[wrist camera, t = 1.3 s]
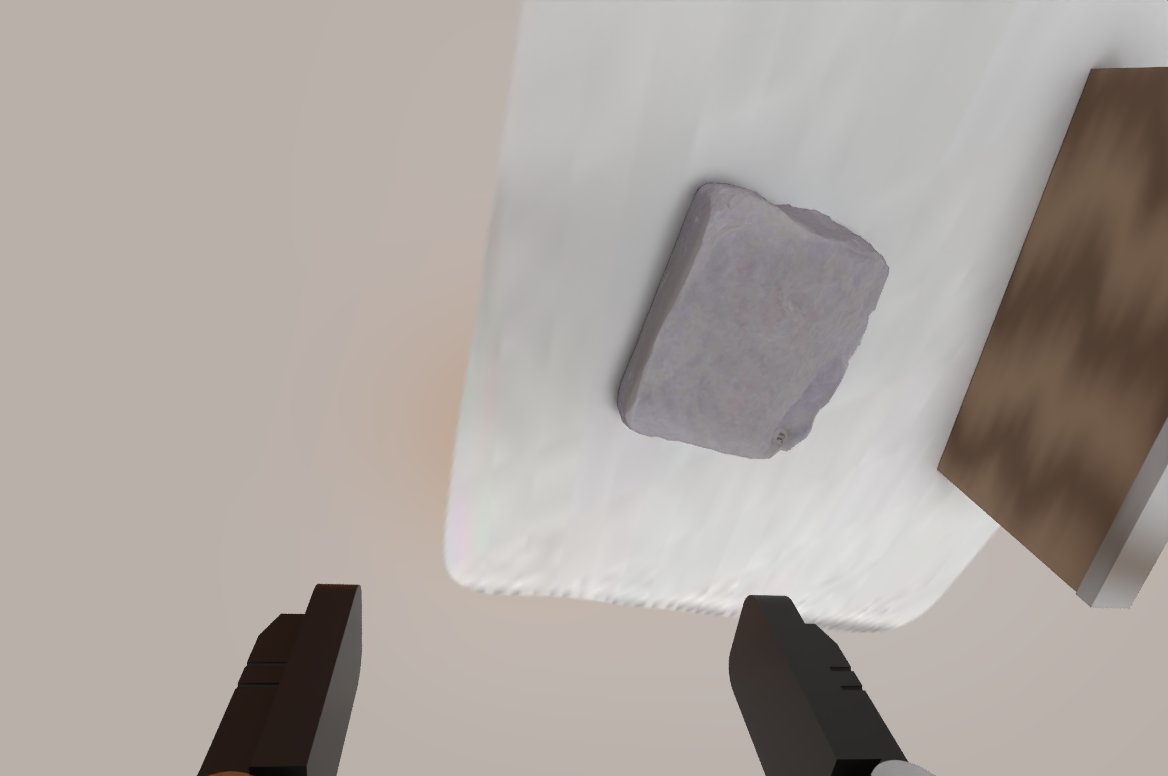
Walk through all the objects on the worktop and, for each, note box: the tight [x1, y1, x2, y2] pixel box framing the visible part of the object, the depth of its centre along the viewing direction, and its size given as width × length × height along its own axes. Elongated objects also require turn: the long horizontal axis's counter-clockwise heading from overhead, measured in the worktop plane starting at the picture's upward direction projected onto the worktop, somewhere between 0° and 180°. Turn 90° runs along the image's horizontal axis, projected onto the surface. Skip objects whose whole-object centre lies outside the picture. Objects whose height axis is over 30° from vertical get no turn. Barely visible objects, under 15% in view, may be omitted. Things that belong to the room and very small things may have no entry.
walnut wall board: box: [937, 67, 1168, 609], centre depth 28 cm, size 20×2×11 cm, turn 172°
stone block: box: [617, 183, 889, 459], centre depth 31 cm, size 12×5×10 cm
